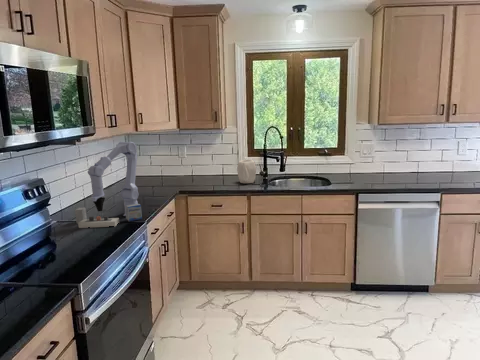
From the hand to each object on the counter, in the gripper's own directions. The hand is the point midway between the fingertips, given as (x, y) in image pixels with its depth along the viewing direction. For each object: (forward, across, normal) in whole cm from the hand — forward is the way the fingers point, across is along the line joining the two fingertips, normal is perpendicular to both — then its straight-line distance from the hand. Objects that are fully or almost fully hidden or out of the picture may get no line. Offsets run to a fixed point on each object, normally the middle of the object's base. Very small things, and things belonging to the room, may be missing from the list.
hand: (100, 211), depth 210 cm
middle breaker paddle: (+4, +3, 0) cm, 5 cm away
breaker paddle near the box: (+4, +3, +4) cm, 7 cm away
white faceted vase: (+8, -106, +85) cm, 136 cm away
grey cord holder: (+7, -5, -13) cm, 16 cm away
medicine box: (+8, -6, +17) cm, 20 cm away
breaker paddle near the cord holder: (+4, +3, -4) cm, 7 cm away
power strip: (+7, +3, 0) cm, 8 cm away
